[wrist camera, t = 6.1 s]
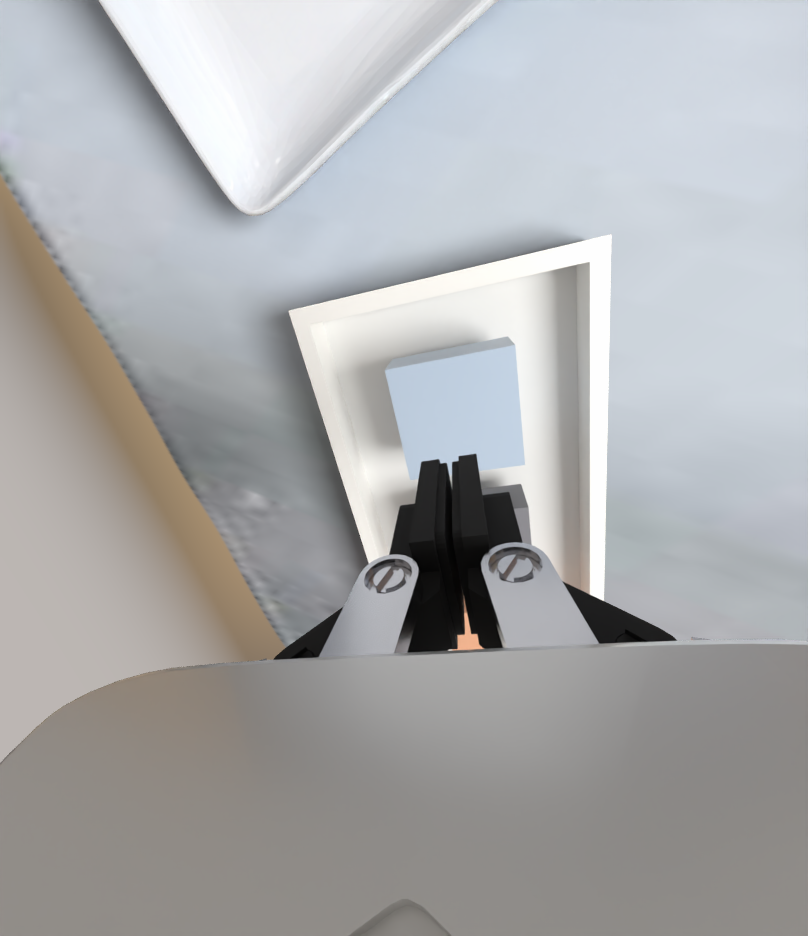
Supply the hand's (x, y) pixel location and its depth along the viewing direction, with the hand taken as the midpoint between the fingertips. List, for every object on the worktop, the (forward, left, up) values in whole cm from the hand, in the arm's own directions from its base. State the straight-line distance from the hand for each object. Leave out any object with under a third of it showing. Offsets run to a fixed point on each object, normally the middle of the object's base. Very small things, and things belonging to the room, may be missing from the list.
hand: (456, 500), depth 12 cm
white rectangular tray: (0, +8, -11) cm, 14 cm away
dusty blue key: (0, 0, -9) cm, 9 cm away
